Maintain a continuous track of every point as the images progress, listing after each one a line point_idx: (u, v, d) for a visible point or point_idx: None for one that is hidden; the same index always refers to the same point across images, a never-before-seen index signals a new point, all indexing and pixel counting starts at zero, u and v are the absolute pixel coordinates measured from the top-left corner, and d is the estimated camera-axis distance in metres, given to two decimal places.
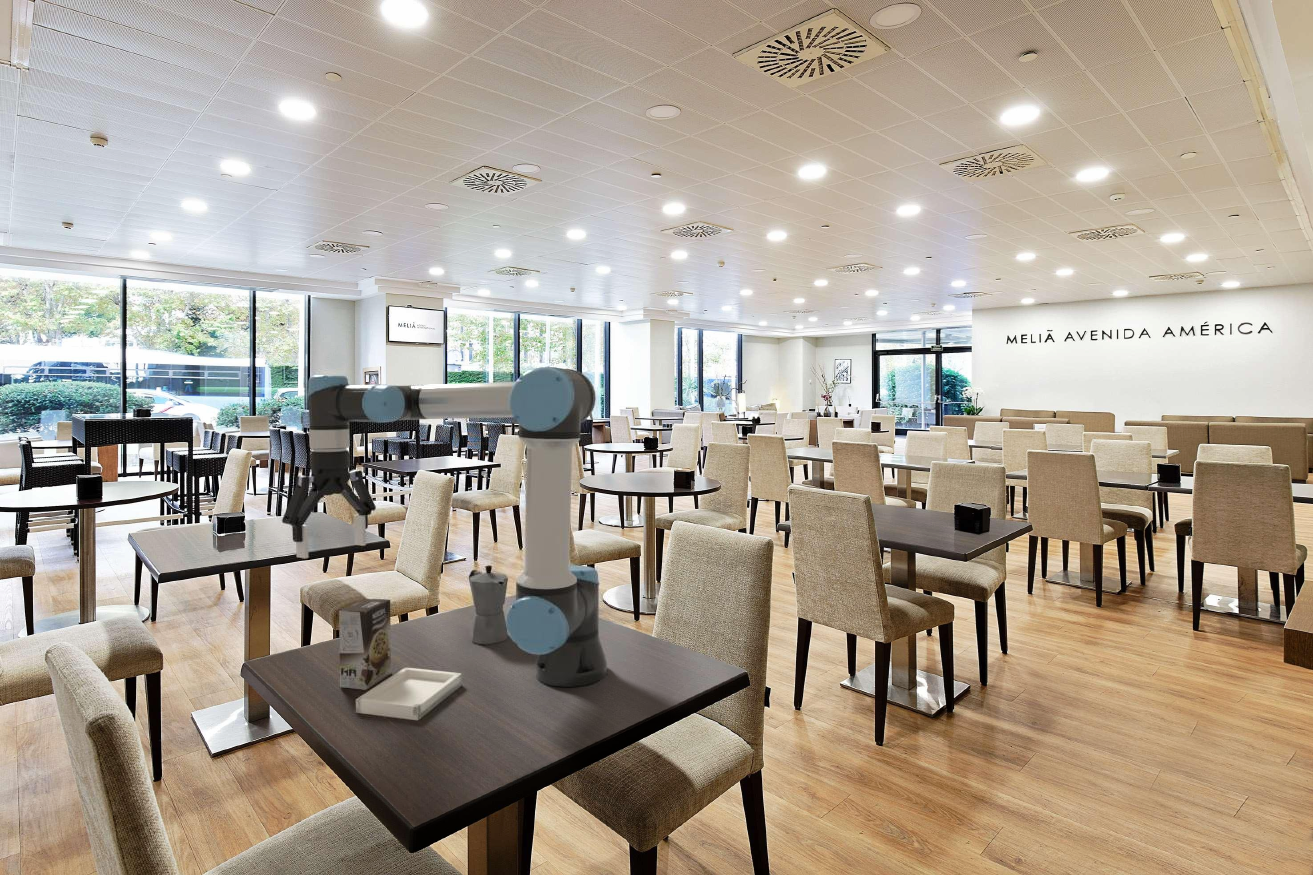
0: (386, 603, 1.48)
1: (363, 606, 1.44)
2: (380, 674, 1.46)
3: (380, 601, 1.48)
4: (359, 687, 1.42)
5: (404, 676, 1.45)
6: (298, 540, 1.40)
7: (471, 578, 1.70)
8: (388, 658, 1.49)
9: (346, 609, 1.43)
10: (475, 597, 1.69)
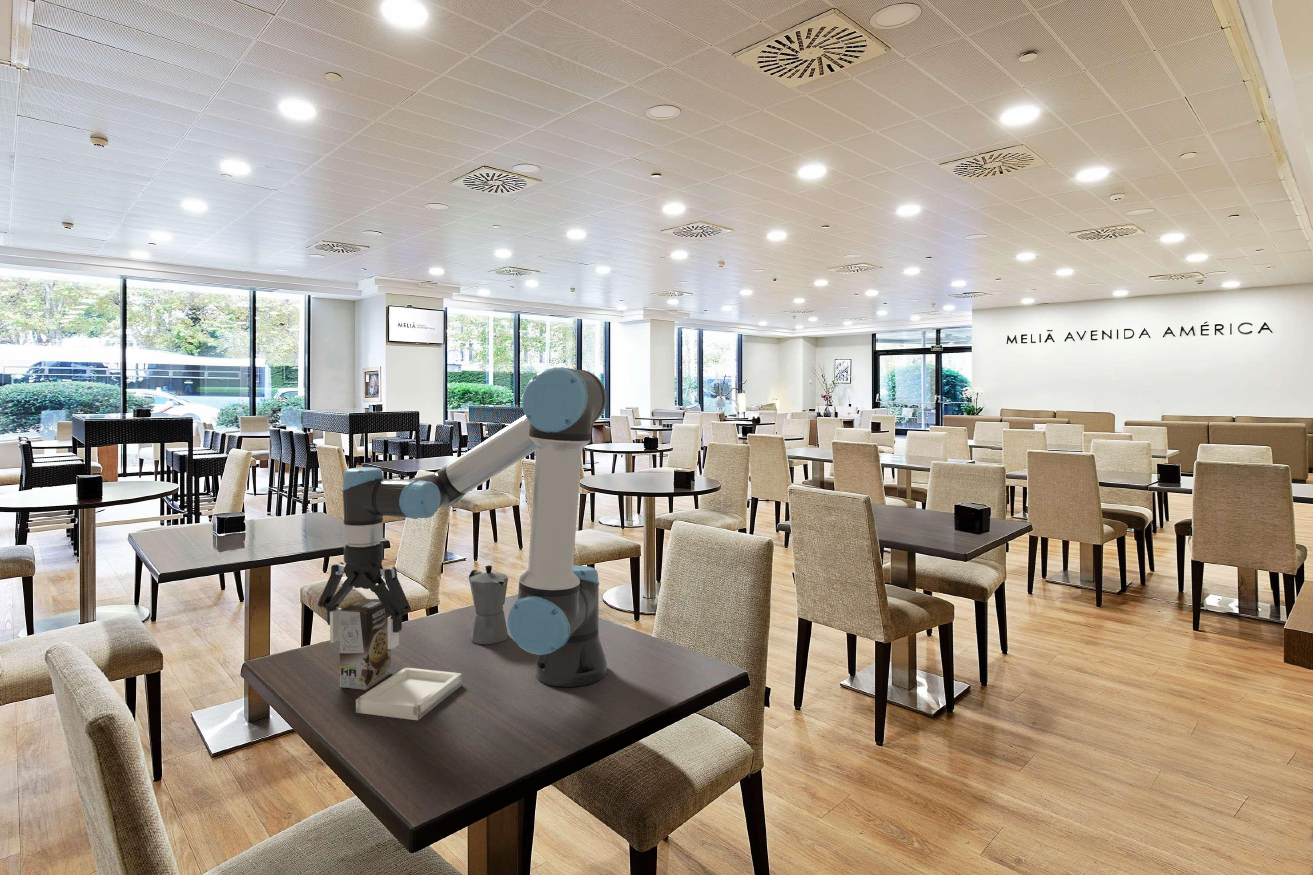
0: None
1: (363, 606, 1.44)
2: (380, 674, 1.46)
3: (380, 601, 1.48)
4: (359, 687, 1.42)
5: (404, 676, 1.45)
6: (328, 623, 1.47)
7: (471, 578, 1.70)
8: (388, 658, 1.49)
9: (346, 609, 1.43)
10: (475, 597, 1.69)
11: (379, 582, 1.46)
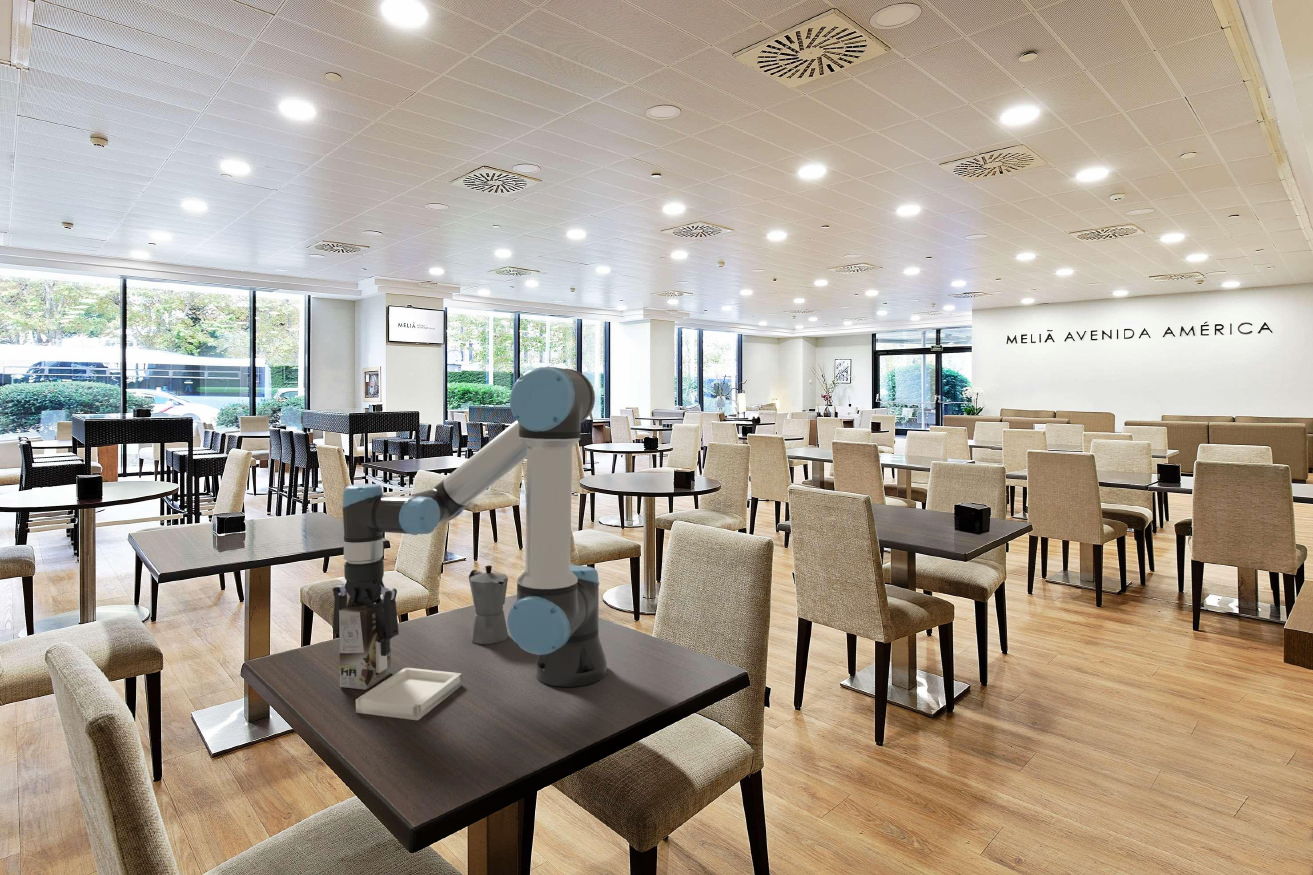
0: None
1: (363, 606, 1.44)
2: (380, 673, 1.46)
3: None
4: (359, 687, 1.42)
5: (404, 676, 1.45)
6: None
7: (471, 578, 1.70)
8: (388, 658, 1.49)
9: (346, 609, 1.43)
10: (475, 597, 1.69)
11: (376, 600, 1.47)
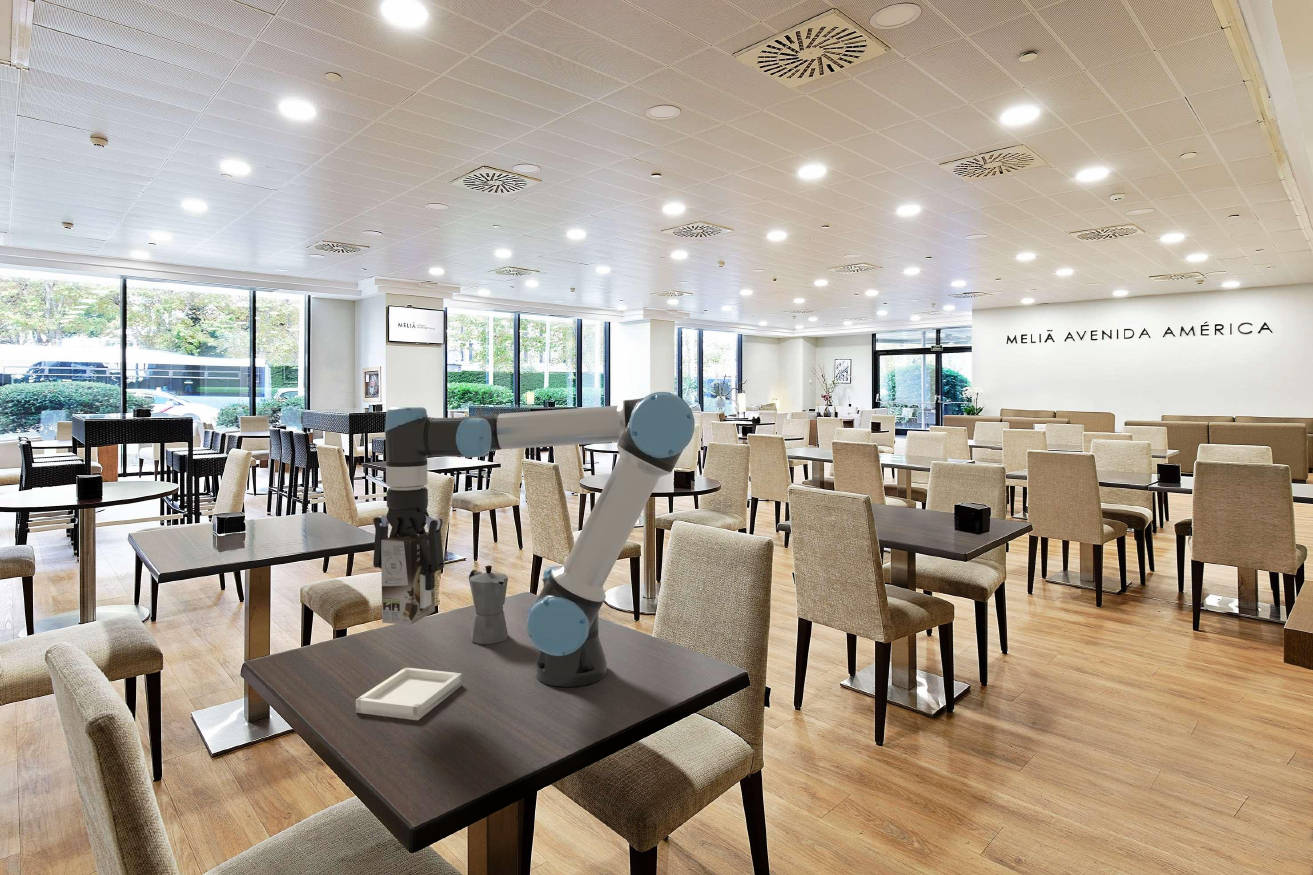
0: None
1: (406, 536, 1.35)
2: (424, 610, 1.37)
3: None
4: (403, 622, 1.32)
5: (404, 676, 1.45)
6: None
7: (471, 578, 1.70)
8: (432, 594, 1.39)
9: (389, 539, 1.33)
10: (475, 597, 1.69)
11: (420, 531, 1.37)
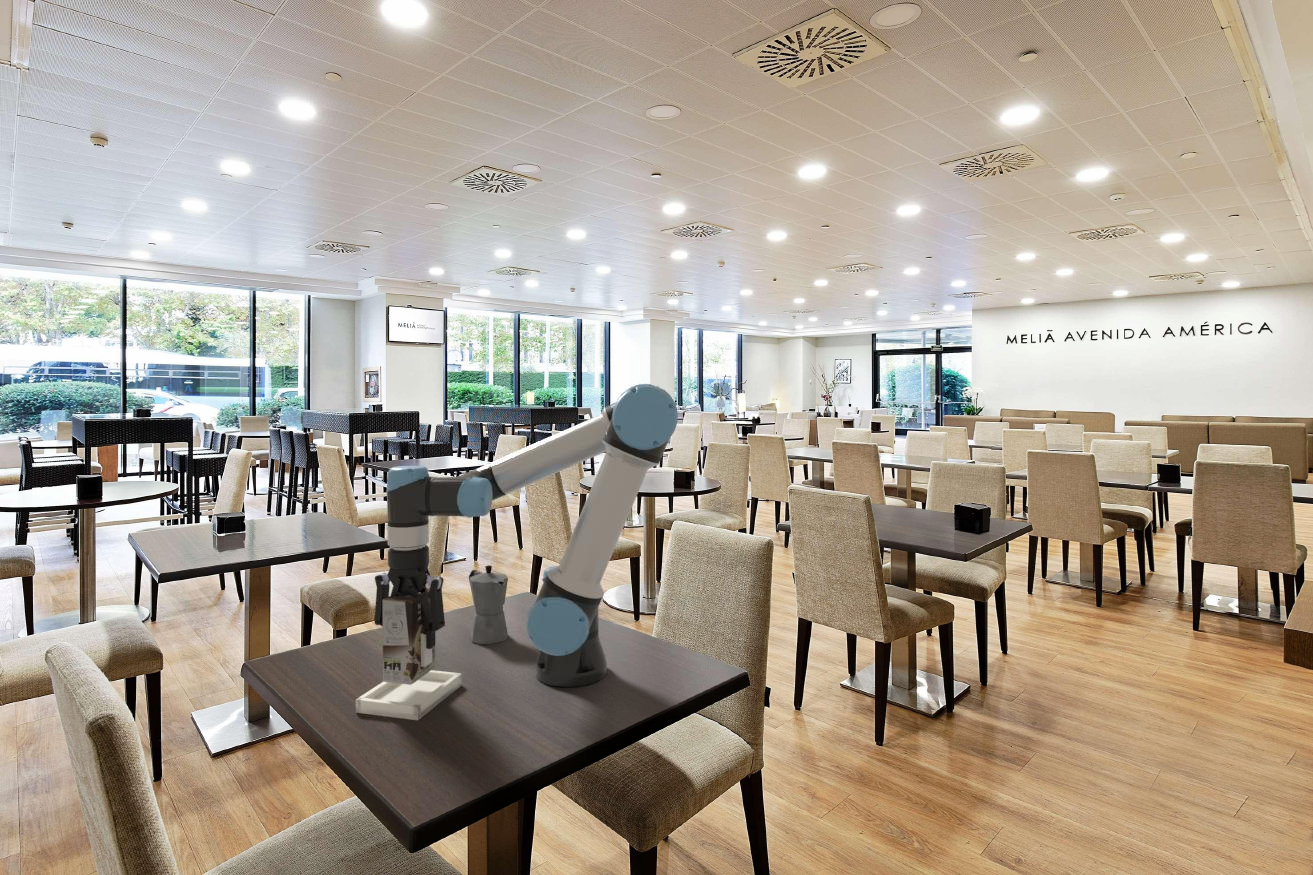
0: None
1: (407, 595, 1.35)
2: (424, 668, 1.37)
3: None
4: (404, 682, 1.33)
5: None
6: None
7: (471, 578, 1.70)
8: (432, 651, 1.40)
9: (390, 598, 1.34)
10: (475, 597, 1.69)
11: (421, 589, 1.38)
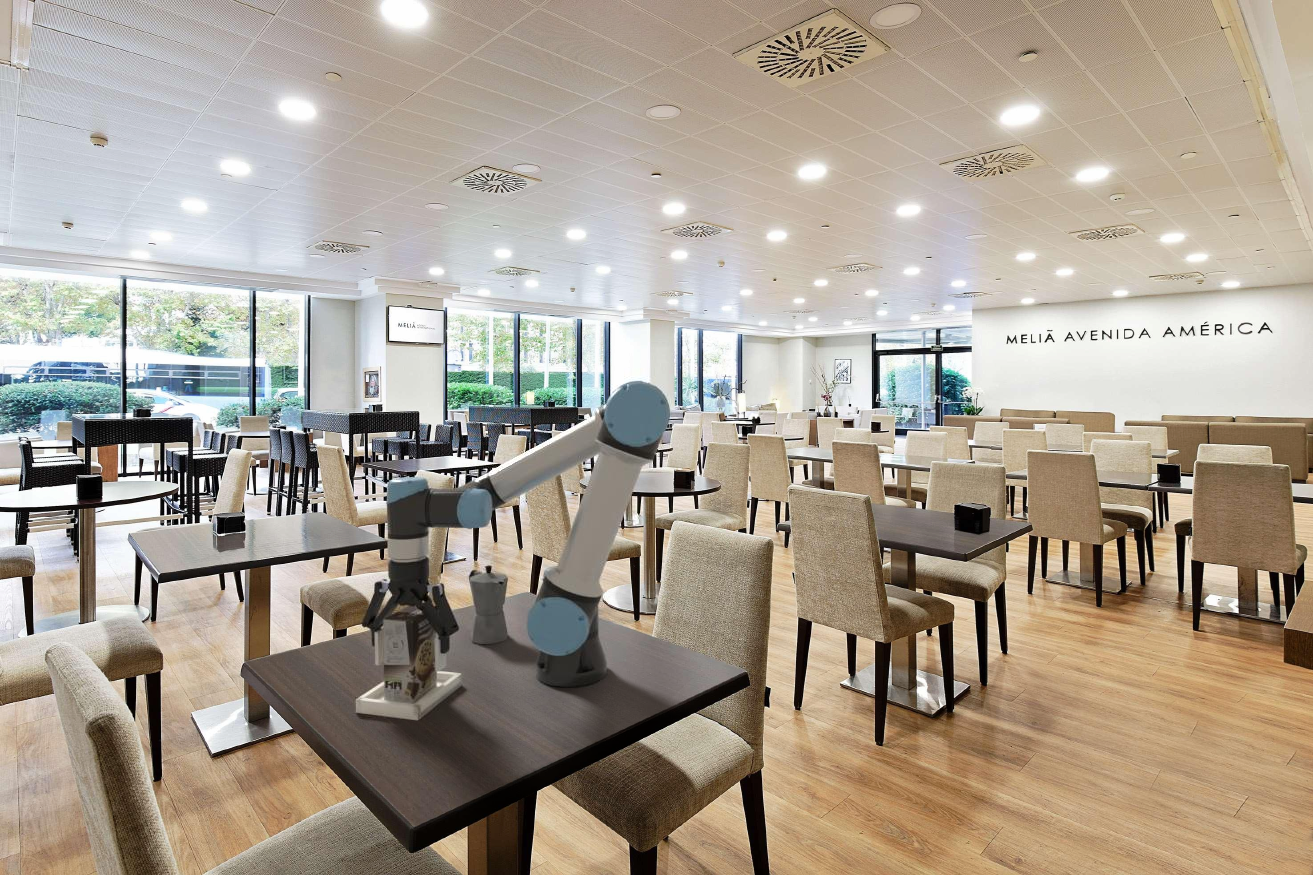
0: None
1: (408, 615, 1.36)
2: (426, 686, 1.38)
3: None
4: (405, 701, 1.33)
5: None
6: (373, 644, 1.39)
7: (471, 578, 1.70)
8: (434, 670, 1.40)
9: (391, 618, 1.34)
10: (475, 597, 1.69)
11: (425, 599, 1.38)
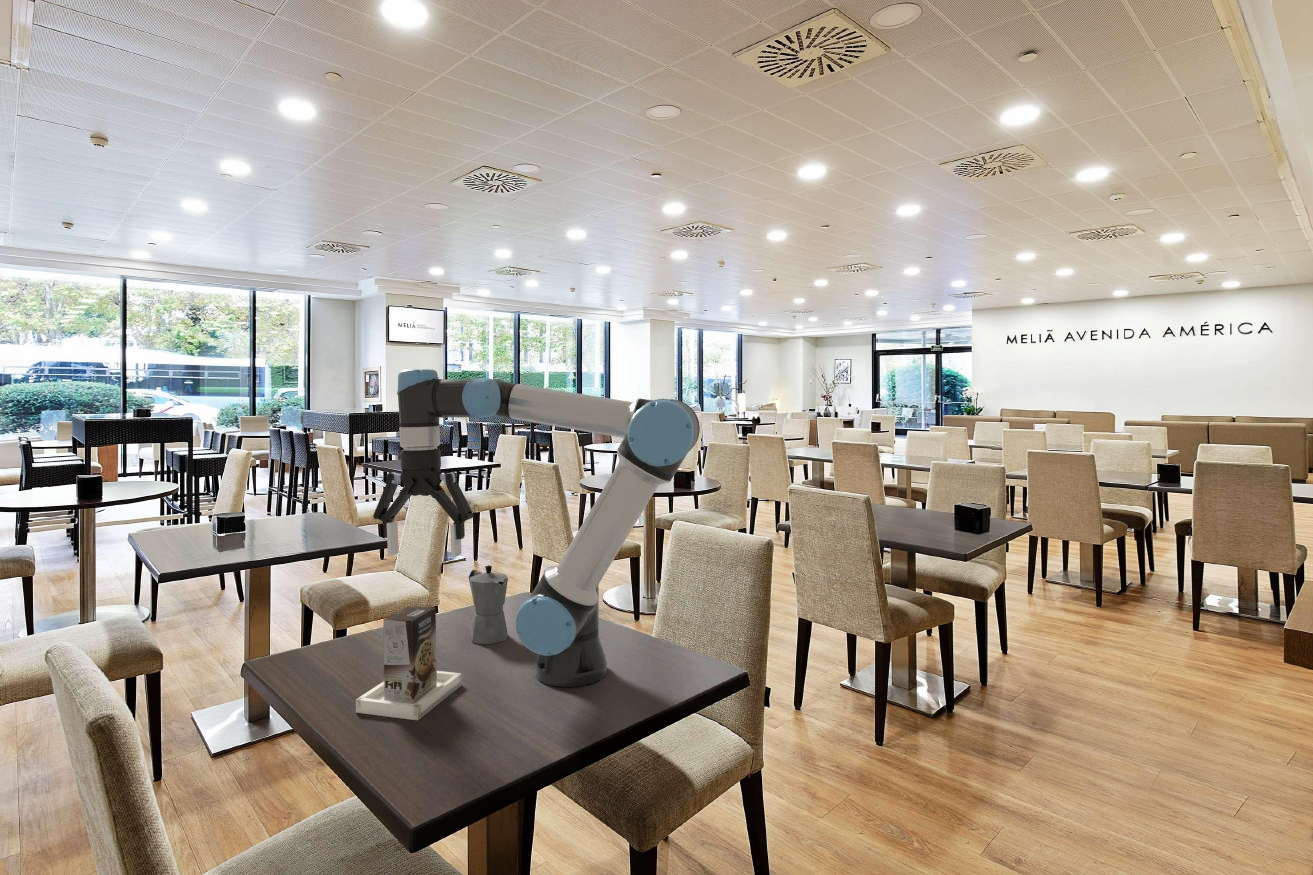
0: (431, 612, 1.39)
1: (408, 615, 1.36)
2: (426, 686, 1.38)
3: (425, 609, 1.39)
4: (405, 701, 1.33)
5: None
6: (385, 536, 1.40)
7: (471, 578, 1.70)
8: (434, 670, 1.40)
9: (391, 618, 1.34)
10: (475, 597, 1.69)
11: (438, 489, 1.40)
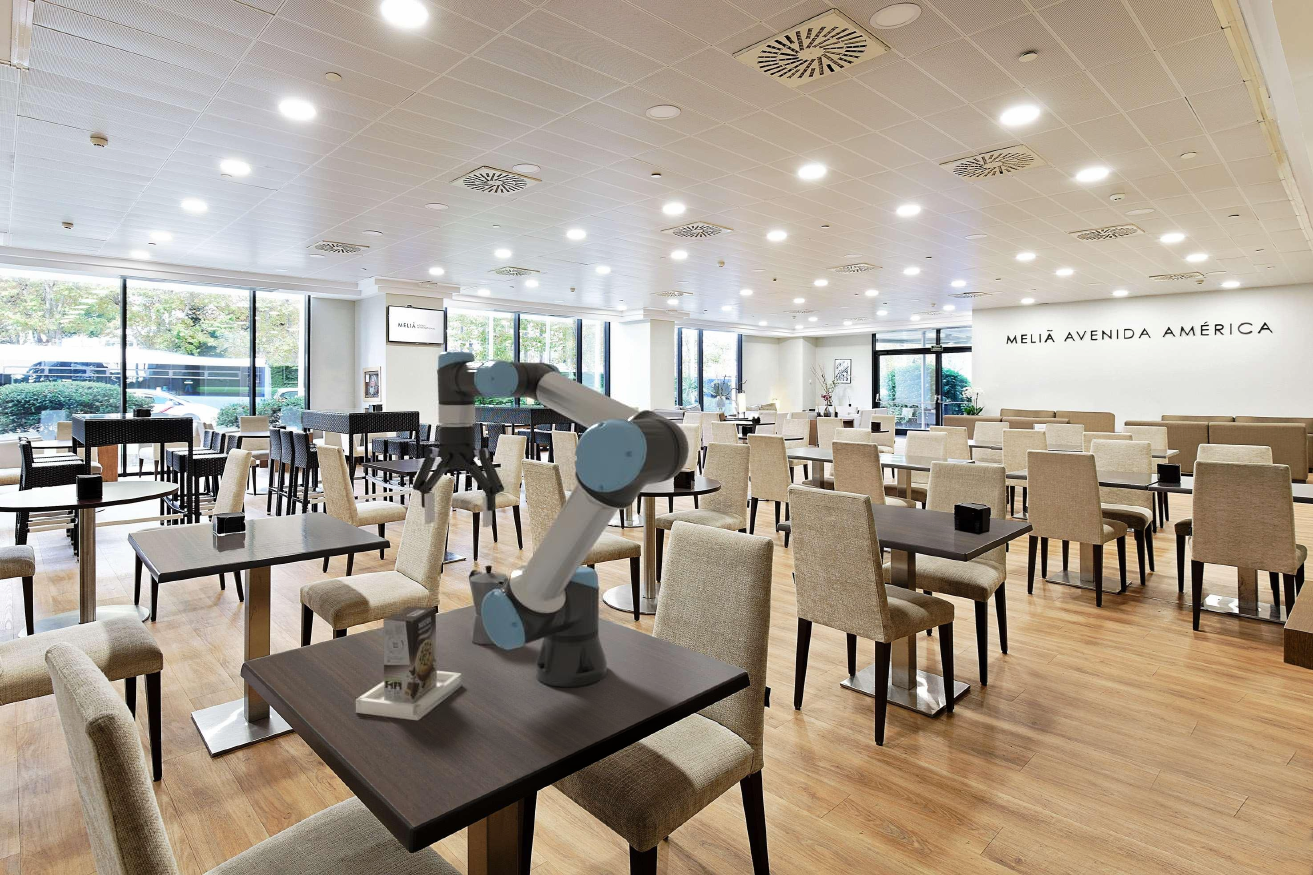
0: (431, 612, 1.39)
1: (408, 615, 1.36)
2: (426, 686, 1.38)
3: (425, 609, 1.39)
4: (405, 701, 1.33)
5: None
6: (422, 506, 1.52)
7: (471, 578, 1.70)
8: (434, 670, 1.40)
9: (391, 618, 1.34)
10: (475, 597, 1.69)
11: (472, 464, 1.50)
